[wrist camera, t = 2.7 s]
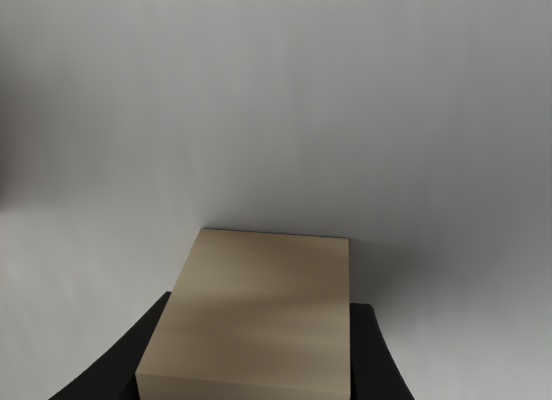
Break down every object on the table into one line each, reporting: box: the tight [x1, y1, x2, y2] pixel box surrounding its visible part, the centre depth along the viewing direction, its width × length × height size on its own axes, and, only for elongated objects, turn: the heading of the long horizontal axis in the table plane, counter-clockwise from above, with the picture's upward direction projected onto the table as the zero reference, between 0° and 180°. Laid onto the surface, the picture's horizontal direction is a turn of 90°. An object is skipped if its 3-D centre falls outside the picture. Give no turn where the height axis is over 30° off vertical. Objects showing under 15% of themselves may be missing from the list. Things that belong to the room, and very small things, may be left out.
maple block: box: [135, 229, 350, 400], centre depth 12 cm, size 4×4×5 cm
